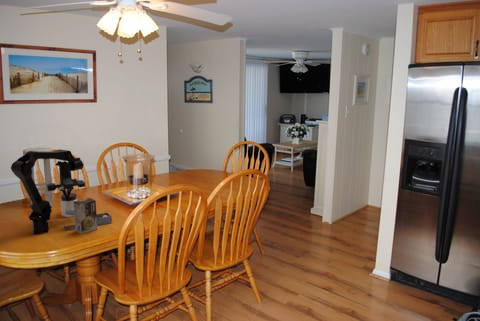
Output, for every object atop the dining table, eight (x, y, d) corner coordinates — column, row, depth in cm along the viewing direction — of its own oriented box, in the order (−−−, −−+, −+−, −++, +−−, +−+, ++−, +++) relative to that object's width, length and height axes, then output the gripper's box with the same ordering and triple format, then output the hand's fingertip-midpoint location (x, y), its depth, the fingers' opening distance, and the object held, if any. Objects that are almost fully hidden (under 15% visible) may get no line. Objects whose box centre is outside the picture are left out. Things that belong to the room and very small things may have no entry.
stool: (57, 205, 239) (53, 150, 232) (29, 209, 230) (24, 152, 223) (53, 199, 251) (49, 146, 244) (26, 203, 242) (21, 148, 236)
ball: (108, 222, 213) (102, 221, 211) (106, 220, 215) (100, 219, 213) (109, 216, 213) (103, 215, 211) (108, 214, 215) (102, 214, 213)
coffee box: (91, 226, 206) (89, 197, 203) (97, 229, 202) (96, 200, 199) (74, 231, 199) (73, 201, 196) (81, 234, 195) (79, 203, 192)
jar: (66, 212, 227) (64, 192, 225) (80, 212, 228) (78, 192, 225) (59, 217, 219) (58, 197, 216) (74, 217, 219) (72, 197, 217)
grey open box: (97, 225, 207) (96, 217, 206) (93, 221, 213) (93, 213, 213) (111, 223, 212) (111, 215, 211) (107, 219, 218) (107, 211, 217)
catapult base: (66, 230, 199) (65, 220, 198) (64, 226, 204) (63, 216, 203) (96, 225, 208) (95, 215, 207) (93, 221, 213) (93, 212, 212)
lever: (66, 214, 199) (67, 211, 199) (62, 208, 209) (63, 204, 209) (93, 218, 207) (94, 214, 207) (88, 211, 217) (89, 208, 217)
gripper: (48, 177, 196) (50, 207, 199) (86, 173, 206) (88, 201, 209) (45, 173, 205) (47, 201, 208) (82, 169, 215) (83, 196, 218)
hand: (67, 200), depth 210 cm, fingers closed
